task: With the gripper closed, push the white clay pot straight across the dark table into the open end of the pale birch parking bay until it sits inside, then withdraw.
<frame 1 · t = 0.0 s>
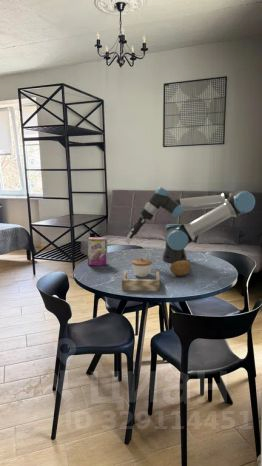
hand: (127, 240, 188), 15 cm above the table, tool tilted 35°, fingers open, 13 cm apart
candy bar box: (97, 265, 193), on the table
lidded jar: (141, 275, 172), on the table
potato: (180, 275, 172), on the table
bay: (141, 285, 156), on the table
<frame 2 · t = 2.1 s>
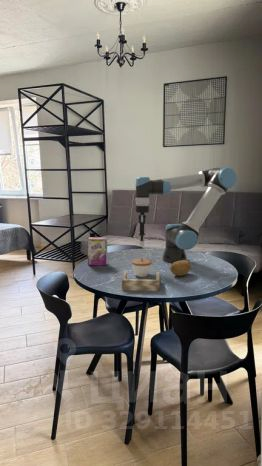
hand: (141, 246, 182), 13 cm above the table, tool pointing down, fingers closed
nothing on the table moved.
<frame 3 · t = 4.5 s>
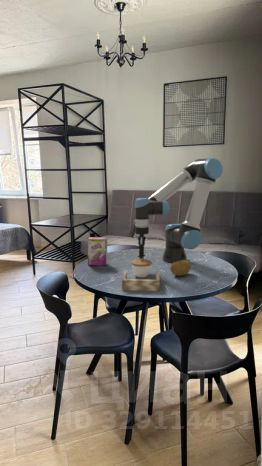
hand: (141, 267, 179), 2 cm above the table, tool pointing down, fingers closed
lidded jar: (141, 276, 171), on the table, touching gripper
everything else where it was.
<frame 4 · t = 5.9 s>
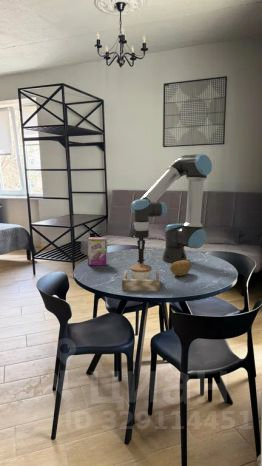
hand: (140, 273, 169), 2 cm above the table, tool pointing down, fingers closed
lidded jar: (141, 282, 161), on the table, touching gripper
everything else where it was.
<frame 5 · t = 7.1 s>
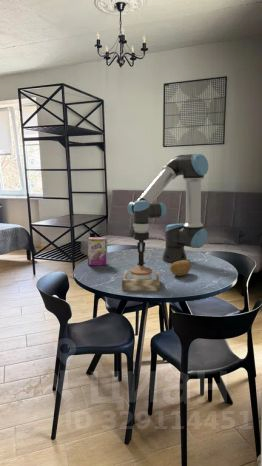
hand: (141, 276, 164), 2 cm above the table, tool pointing down, fingers closed
lidded jar: (141, 285, 156), on the table, touching gripper
everything else where it was.
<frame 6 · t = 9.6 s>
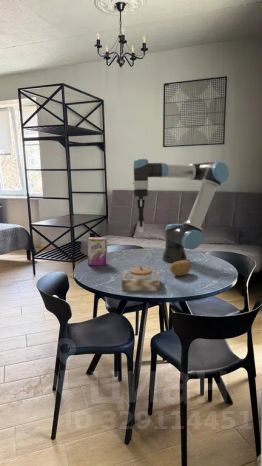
hand: (141, 232, 174), 22 cm above the table, tool pointing down, fingers closed
lidded jar: (141, 285, 156), on the table
everything else where it was.
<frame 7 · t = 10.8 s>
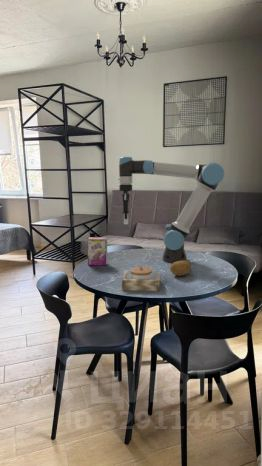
hand: (126, 224, 190), 24 cm above the table, tool pointing down, fingers closed
nothing on the table moved.
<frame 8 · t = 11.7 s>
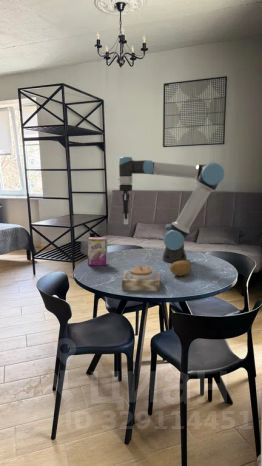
hand: (126, 224, 190), 24 cm above the table, tool pointing down, fingers closed
nothing on the table moved.
at the end: lidded jar inside the target area (0.1 cm from its centre), on the table; lidded jar tilted 0° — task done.
